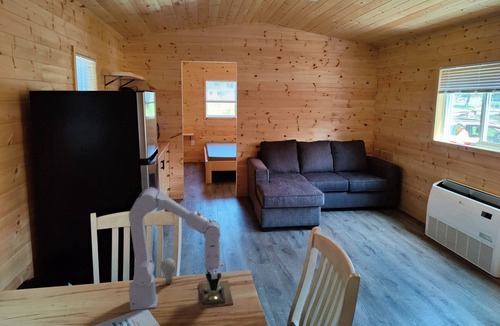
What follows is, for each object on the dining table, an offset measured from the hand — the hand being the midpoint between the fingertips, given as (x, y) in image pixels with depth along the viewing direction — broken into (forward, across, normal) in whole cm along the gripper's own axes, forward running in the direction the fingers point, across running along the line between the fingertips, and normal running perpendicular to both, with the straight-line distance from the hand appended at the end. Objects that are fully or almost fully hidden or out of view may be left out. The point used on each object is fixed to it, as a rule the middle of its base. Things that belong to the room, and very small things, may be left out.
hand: (213, 286), depth 137 cm
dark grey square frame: (+5, 0, 0) cm, 5 cm away
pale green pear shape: (+2, 0, 0) cm, 2 cm away
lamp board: (+5, +3, -1) cm, 6 cm away
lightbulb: (+6, +14, +17) cm, 23 cm away
